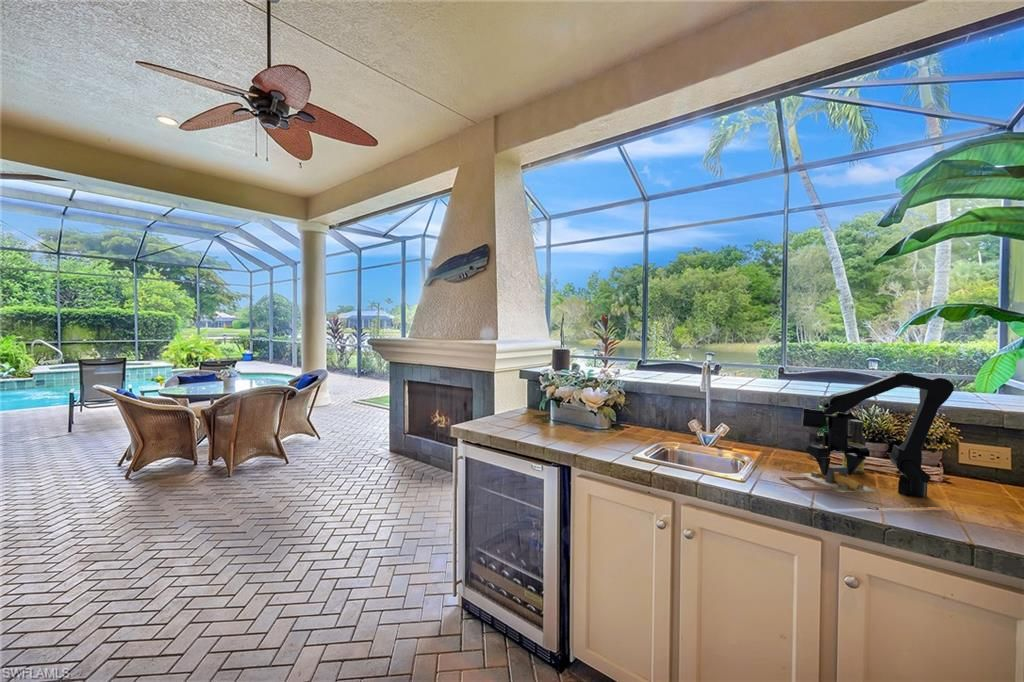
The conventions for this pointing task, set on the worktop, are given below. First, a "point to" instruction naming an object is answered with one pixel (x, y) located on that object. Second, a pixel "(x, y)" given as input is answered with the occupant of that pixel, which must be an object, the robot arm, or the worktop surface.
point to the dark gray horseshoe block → (832, 469)
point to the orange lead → (842, 480)
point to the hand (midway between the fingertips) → (836, 475)
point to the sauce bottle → (856, 441)
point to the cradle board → (838, 484)
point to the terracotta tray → (822, 486)
